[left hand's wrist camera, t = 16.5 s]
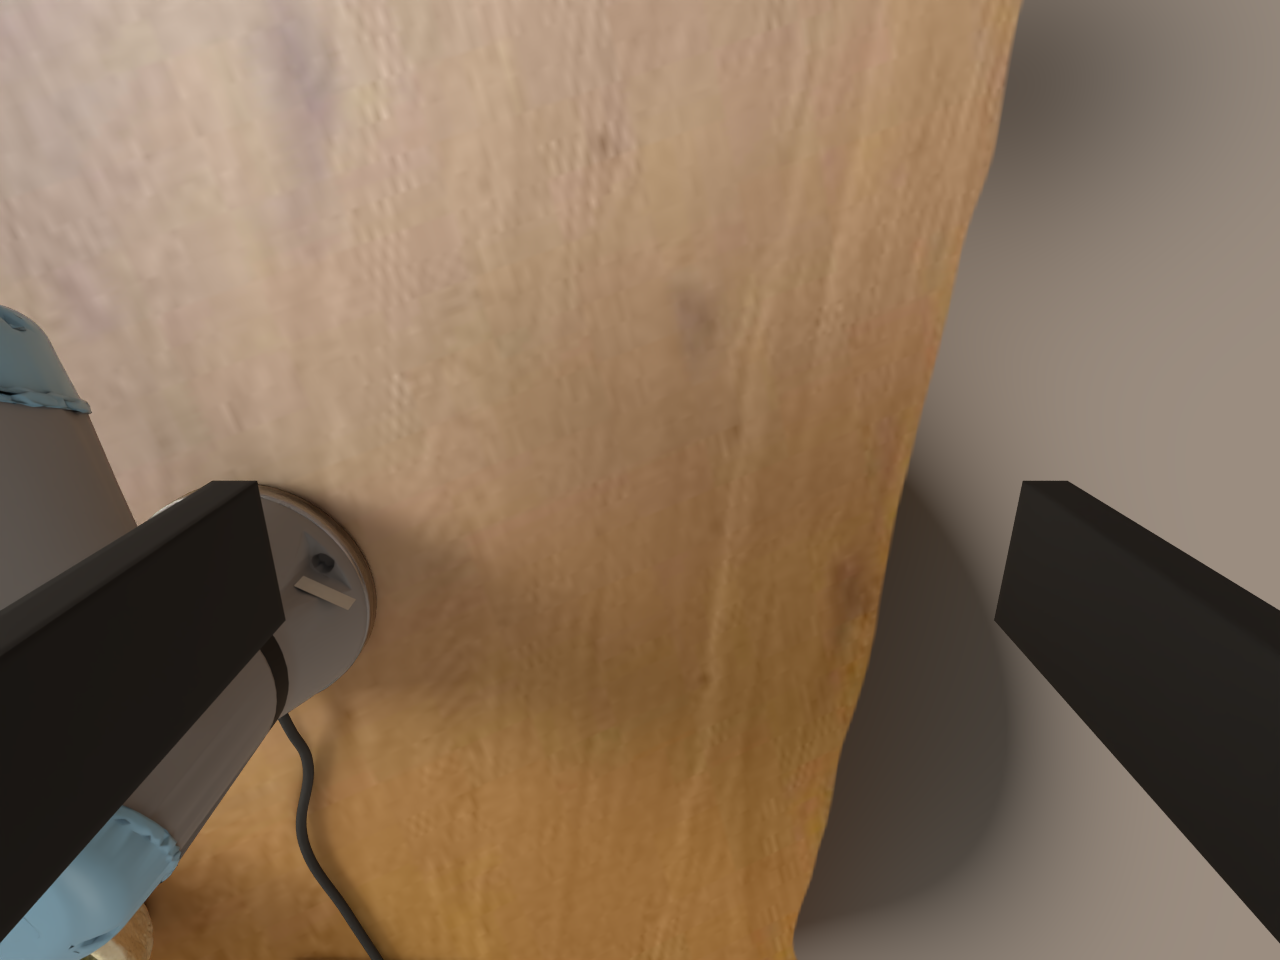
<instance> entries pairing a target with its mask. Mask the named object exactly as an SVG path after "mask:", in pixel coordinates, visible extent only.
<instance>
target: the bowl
mask: <svg viewBox="0 0 1280 960" xmlns="http://www.w3.org/2000/svg"><path fill="white" fill-rule="evenodd" d="M152 933H153V926H152V921H151V918H150V916H149V912H148V910H147V908H146V906H145V904H144V903H143V904H142V905H141V907H140V908H139V909H138V910H137V911H136V913H135V914H134V915H133V916H132V918H131V919H130V920H129V921H128V923H127V924H126V925H125V926H124V927H123V928H122V929H121V930H120V932H119V933H117V934H116V935H115V936H114V937H113V938H112V939H111V940H110V941H108V942H107V943H106V944H105V945H103V946H102V947H100V948H99V949H97V950H96V951H95V952H93V953H91V954H90V955H88V956H86V957H84V958H82V959H80V960H149V958H150V955H151V950H152V947H153V940H154V939H153V934H152Z"/></svg>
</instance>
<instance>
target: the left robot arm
mask: <svg viewBox="0 0 1280 960" xmlns="http://www.w3.org/2000/svg"><path fill="white" fill-rule="evenodd" d="M91 413H92V412H91V409H90V406H89V404H88V403H87V402H86V401H84V400H82V399H80V397H79V395H78V393H77V392H76V390H75V388H74V386H73V384H72V382H71V381H70V379H69V377H68V375H67V373H66V371H65V369H64V368H63V366H62V364H61V362H60V360H59V358H58V356H57V354H56V352H55V350H54V348H53V346H52V344H51V342H50V340H49V339H48V337H47V336H46V334H45V333H44V332H43V330H42V329H41V328H40V327H39V326H38V325H37V324H36V323H35V322H33V321H32V320H31V319H29V318H28V317H26V316H25V315H23V314H21V313H19V312H18V311H15V310H13V309H11V308H8V307H5V306H2V305H0V960H80V959H82V958H84V957H86V956H88V955H90V954H91V953H93V952H95V951H96V950H97V949H99V948H100V947H102V946H103V945H105V944H106V943H107V942H108V941H110V940H111V939H112V938H113V937H114V936H115V935H116V934H117V933H119V932H120V930H121V929H122V928H123V927H124V926H125V925H126V924H127V923H128V921H129V920H130V919H131V918H132V916H133V915H134V914H135V913H136V911H137V910H138V909H139V908H140V907H141V905H142V904H143V903H144V902H145V900H146V899H147V898H148V897H149V896H150V894H151V893H152V892H153V891H154V889H155V888H156V887H157V886H158V884H160V883H162V882H163V881H164V880H166V879H167V878H168V877H169V876H170V875H171V874H172V872H173V871H174V870H175V868H176V866H178V862H179V860H180V859H181V858H182V856H183V855H184V853H185V852H186V850H187V849H188V847H189V846H190V845H191V843H192V842H193V840H194V839H195V837H196V836H197V834H198V833H199V832H200V830H201V829H202V827H203V826H204V824H205V823H206V821H207V820H208V819H209V817H210V816H211V814H212V813H213V811H214V810H215V808H216V807H217V806H218V804H219V803H220V801H221V800H222V798H223V797H224V796H225V794H226V793H227V791H228V790H229V788H230V787H231V785H232V784H233V783H234V781H235V780H236V778H237V777H238V775H239V774H240V772H241V771H242V770H243V768H244V767H245V765H246V764H247V762H248V761H249V759H250V758H251V757H252V755H253V754H254V752H255V751H256V749H257V748H258V746H259V745H260V744H261V742H262V741H263V739H264V738H265V736H266V735H267V733H268V732H269V731H270V729H271V728H272V727H273V725H274V724H275V722H276V721H277V720H279V722H280V724H281V726H282V728H283V730H284V731H285V733H286V735H287V736H288V738H289V740H290V741H291V742H292V744H293V745H294V746H295V748H296V749H297V751H298V752H299V754H300V757H301V760H302V766H303V783H302V789H301V794H300V799H299V804H298V809H297V816H296V834H297V839H298V844H299V847H300V850H301V853H302V855H303V858H304V860H305V862H306V864H307V866H308V867H309V869H310V871H311V872H312V874H313V875H314V877H315V878H316V880H317V881H318V883H319V884H320V885H321V887H322V888H323V889H324V891H325V892H326V893H327V894H328V896H329V897H330V898H331V900H332V901H333V902H334V904H335V905H336V907H337V908H338V909H339V911H340V912H341V914H342V915H343V917H344V919H345V920H346V922H347V923H348V925H349V926H350V928H351V929H352V931H353V932H354V934H355V935H356V937H357V939H358V940H359V941H360V943H361V944H362V946H363V947H364V949H365V950H366V952H367V953H368V955H369V957H370V958H371V960H383V958H382V957H381V955H380V954H379V952H378V950H377V949H376V947H375V946H374V944H373V943H372V941H371V940H370V938H369V937H368V935H367V934H366V932H365V931H364V929H363V928H362V926H361V925H360V923H359V921H358V920H357V918H356V917H355V915H354V914H353V912H352V910H351V909H350V907H349V906H348V904H347V903H346V901H345V900H344V898H343V897H342V896H341V894H340V893H339V892H338V890H337V889H336V888H335V886H334V885H333V884H332V882H331V881H330V880H329V878H328V877H327V876H326V874H325V873H324V871H323V870H322V868H321V867H320V865H319V863H318V862H317V860H316V858H315V856H314V854H313V851H312V849H311V846H310V843H309V840H308V835H307V827H306V818H307V810H308V804H309V800H310V795H311V790H312V785H313V777H314V765H313V759H312V755H311V752H310V749H309V747H308V746H307V744H306V743H305V741H304V740H303V738H302V737H301V735H300V734H299V733H298V731H297V729H296V728H295V726H294V724H293V722H292V720H291V718H290V716H289V714H288V712H290V711H291V710H293V709H294V708H296V707H297V706H299V705H300V704H302V703H303V702H305V701H306V700H308V699H309V698H311V697H312V696H313V695H315V694H317V693H319V692H321V691H322V690H324V689H326V688H327V687H329V686H330V685H331V684H333V683H334V682H335V681H336V680H337V679H338V678H340V677H341V676H342V675H343V674H344V673H345V672H346V671H347V670H348V669H349V668H350V667H351V665H352V664H353V663H354V661H355V660H356V658H357V657H358V655H359V654H360V652H361V651H362V649H363V647H364V646H365V644H366V643H367V641H368V639H369V637H370V635H371V632H372V629H373V626H374V622H375V617H376V591H375V586H374V581H373V577H372V575H371V572H370V569H369V566H368V564H367V562H366V560H365V558H364V556H363V554H362V553H361V551H360V549H359V548H358V546H357V545H356V544H355V542H354V541H353V539H352V538H351V537H350V536H349V535H348V534H347V532H346V531H345V530H344V529H343V528H342V527H341V526H340V525H339V524H338V523H337V522H336V521H335V520H333V519H332V518H331V517H330V516H328V515H327V514H326V513H325V512H323V511H322V510H320V509H319V508H317V507H316V506H314V505H313V504H311V503H309V502H307V501H306V500H304V499H302V498H299V497H297V496H295V495H293V494H290V493H288V492H285V491H282V490H279V489H276V488H272V487H268V486H263V485H258V483H257V481H211V482H210V483H208V484H207V485H205V486H203V487H202V488H200V489H197V490H195V491H192V492H190V493H188V494H186V495H184V496H182V497H180V498H178V499H177V500H175V501H174V502H172V503H170V504H169V505H167V506H165V507H164V508H162V509H161V510H159V511H158V512H157V513H155V514H154V515H153V516H152V517H151V518H150V519H149V520H148V521H146V522H144V523H143V524H141V525H139V526H138V527H137V525H136V522H135V520H134V518H133V516H132V514H131V511H130V509H129V507H128V505H127V503H126V500H125V498H124V496H123V494H122V492H121V489H120V487H119V485H118V483H117V481H116V478H115V476H114V474H113V471H112V469H111V466H110V464H109V462H108V459H107V457H106V455H105V452H104V450H103V448H102V445H101V443H100V441H99V438H98V436H97V434H96V431H95V429H94V427H93V424H92V422H91V420H90V417H89V415H88V414H91ZM994 621H995V622H996V623H997V624H998V625H999V626H1000V627H1001V628H1002V630H1003V631H1004V632H1005V633H1006V634H1007V635H1008V636H1009V637H1010V639H1011V640H1012V641H1013V642H1014V643H1015V644H1016V645H1017V647H1018V648H1019V649H1020V650H1021V651H1022V652H1023V653H1024V654H1025V656H1026V657H1027V658H1028V659H1029V660H1030V661H1031V662H1032V663H1033V665H1034V666H1035V667H1036V668H1037V669H1038V670H1039V671H1040V673H1041V674H1042V675H1043V676H1044V677H1045V678H1046V679H1047V680H1048V682H1049V683H1050V684H1051V685H1052V686H1053V687H1054V688H1055V689H1056V691H1057V692H1058V693H1059V694H1060V695H1061V696H1062V697H1063V699H1064V700H1065V701H1066V702H1067V703H1068V704H1069V705H1070V706H1071V708H1072V709H1073V710H1074V711H1075V712H1076V713H1077V714H1078V715H1079V717H1080V718H1081V719H1082V720H1083V721H1084V722H1085V723H1086V725H1087V726H1088V727H1089V728H1090V729H1091V730H1092V731H1093V732H1094V734H1095V735H1096V736H1097V737H1098V738H1099V739H1100V740H1101V741H1102V743H1103V744H1104V745H1105V746H1106V747H1107V748H1108V749H1109V751H1110V752H1111V753H1112V754H1113V755H1114V756H1115V757H1116V758H1117V760H1118V761H1119V762H1120V763H1121V764H1122V765H1123V766H1124V768H1125V769H1126V770H1127V771H1128V772H1129V773H1130V774H1131V775H1132V777H1133V778H1134V779H1135V780H1136V781H1137V782H1138V783H1139V784H1140V786H1141V787H1142V788H1143V789H1144V790H1145V791H1146V792H1147V794H1148V795H1149V796H1150V797H1151V798H1152V799H1153V800H1154V801H1155V803H1156V804H1157V805H1158V806H1159V807H1160V808H1161V809H1162V811H1163V812H1164V813H1165V814H1166V815H1167V816H1168V817H1169V818H1170V820H1171V821H1172V822H1173V823H1174V824H1175V825H1176V826H1177V828H1178V829H1179V830H1180V831H1181V832H1182V833H1183V834H1184V835H1185V837H1186V838H1187V839H1188V840H1189V841H1190V842H1191V843H1192V844H1193V846H1194V847H1195V848H1196V849H1197V850H1198V851H1199V852H1200V854H1201V855H1202V856H1203V857H1204V858H1205V859H1206V860H1207V861H1208V863H1209V864H1210V865H1211V866H1212V867H1213V868H1214V869H1215V870H1216V872H1217V873H1218V874H1219V875H1220V876H1221V877H1222V878H1223V880H1224V881H1225V882H1226V883H1227V884H1228V885H1229V886H1230V887H1231V889H1232V890H1233V891H1234V892H1235V893H1236V894H1237V895H1238V896H1239V898H1240V899H1241V900H1242V901H1243V902H1244V903H1245V904H1246V906H1247V907H1248V908H1249V909H1250V910H1251V911H1252V912H1253V913H1254V915H1255V916H1256V917H1257V918H1258V919H1259V920H1260V921H1261V923H1262V924H1263V925H1264V926H1265V927H1266V928H1267V929H1268V930H1269V932H1270V933H1271V934H1272V935H1273V936H1274V937H1275V938H1276V939H1277V941H1278V942H1279V943H1280V610H1278V609H1276V608H1275V607H1273V606H1271V605H1270V604H1268V603H1266V602H1265V601H1263V600H1262V599H1260V598H1258V597H1257V596H1255V595H1253V594H1252V593H1250V592H1248V591H1247V590H1245V589H1244V588H1242V587H1240V586H1239V585H1237V584H1235V583H1234V582H1232V581H1230V580H1229V579H1227V578H1226V577H1224V576H1222V575H1221V574H1219V573H1217V572H1216V571H1214V570H1212V569H1211V568H1209V567H1208V566H1206V565H1204V564H1203V563H1201V562H1199V561H1198V560H1196V559H1195V558H1193V557H1191V556H1190V555H1188V554H1186V553H1185V552H1183V551H1181V550H1180V549H1178V548H1176V547H1175V546H1173V545H1172V544H1170V543H1168V542H1167V541H1165V540H1163V539H1162V538H1160V537H1158V536H1157V535H1155V534H1154V533H1152V532H1150V531H1149V530H1147V529H1145V528H1144V527H1142V526H1141V525H1139V524H1137V523H1136V522H1134V521H1132V520H1131V519H1129V518H1127V517H1126V516H1124V515H1122V514H1121V513H1119V512H1118V511H1116V510H1114V509H1113V508H1111V507H1109V506H1108V505H1106V504H1104V503H1103V502H1101V501H1100V500H1098V499H1096V498H1095V497H1093V496H1091V495H1090V494H1088V493H1087V492H1085V491H1083V490H1082V489H1080V488H1078V487H1077V486H1075V485H1073V484H1072V483H1070V482H1068V481H1023V483H1022V487H1021V493H1020V497H1019V502H1018V507H1017V512H1016V517H1015V522H1014V526H1013V531H1012V536H1011V541H1010V546H1009V551H1008V556H1007V561H1006V565H1005V570H1004V575H1003V580H1002V585H1001V590H1000V595H999V599H998V605H997V609H996V614H995V619H994Z"/></svg>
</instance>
